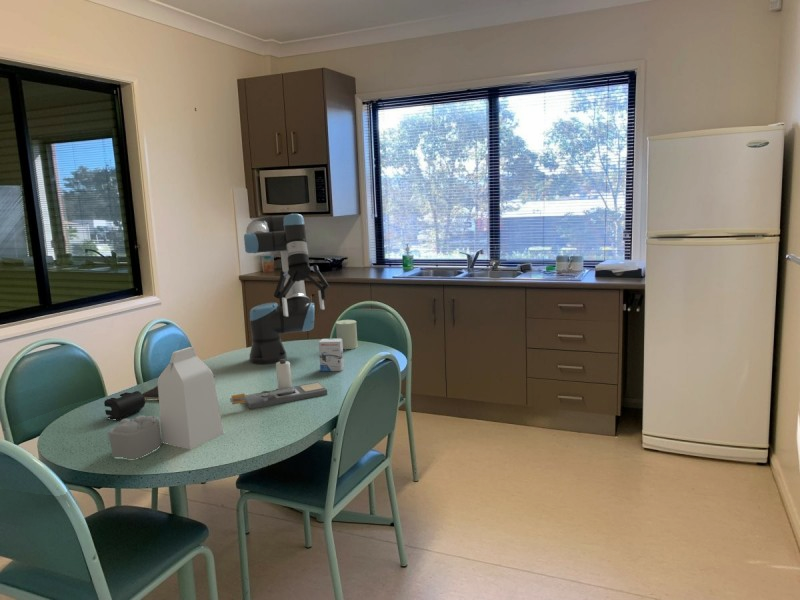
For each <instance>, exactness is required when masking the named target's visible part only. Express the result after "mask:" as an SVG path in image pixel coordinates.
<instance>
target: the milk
mask: <svg viewBox="0 0 800 600" xmlns="http://www.w3.org/2000/svg"><path fill="white" fill-rule="evenodd" d="M214 376H215V375H214V373H213V371H212V370H211V369H210V367H209V366H207V364H206V363H204V361H203V360H201V358H199V356H198V355H197V354H196V351H195V349H194V347H192V346H191V347H190V346H189V347H186V348H181V349H179V350H178V349H177V350H175V351H173V352H172V354H171V357H170V361H169V363H168V365H167V366H166V367H165V369H164V370H163V371H162V372H161V373H160V375H159V377H158V378H157V386H158V394H159V401H158V403H159V404H158V406H159V407H158V408H159V423H160V434H161V442H164V443H168V444H171V445H170V446H172V445H175V446H174V447H176V446H179V447H178V448H180V447H183V448H182V449H184V448H187V449H186V450H189V449H192V450H194V449H196V448H197V447H196V446H198V445H200V444H202V445H203V443H204V442H206V441H208V442H210V441H211V440H210V439H212V440H214V439H216V438H217V436H218V437H219V435H220V436H222V435H223V433H224V428H223V423H222V417H221V411H220V406H219V405H220V404H219V400H218V395H217V394H218V393H217V388H216V382H215V377H214ZM221 434H222V435H221ZM215 437H216V438H215ZM213 438H214V439H213ZM209 440H210V441H209ZM206 443H207V442H206ZM204 444H205V443H204ZM200 446H201V445H200ZM195 447H196V448H195ZM198 447H199V446H198ZM193 448H194V449H193Z"/></svg>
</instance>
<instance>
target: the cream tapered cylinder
mask: <svg viewBox="0 0 800 600" xmlns="http://www.w3.org/2000/svg"><path fill="white" fill-rule="evenodd" d="M335 328H336V332H335V333H336V339H342V343H343V349H345V350H344V351H347V350H346V349H351V350H355V349H358V347H359V343H358V331H357V321H356V320H354V319H343V320H337V321H336V322H335ZM354 348H355V349H354Z"/></svg>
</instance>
